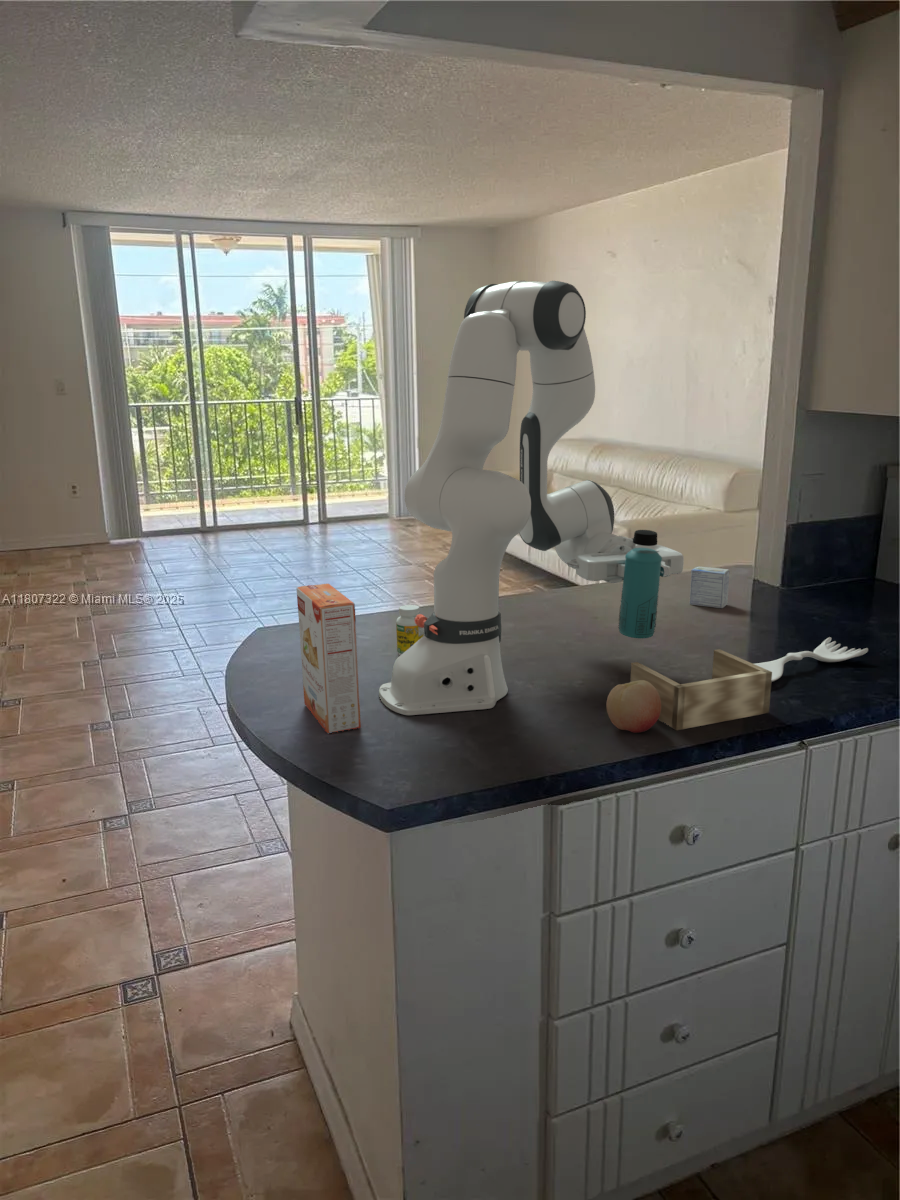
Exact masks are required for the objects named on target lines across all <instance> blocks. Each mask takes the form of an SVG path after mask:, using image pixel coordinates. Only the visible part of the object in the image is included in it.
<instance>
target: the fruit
mask: <svg viewBox="0 0 900 1200" xmlns="http://www.w3.org/2000/svg"><path fill="white" fill-rule="evenodd" d="M605 704H606V713H607V715H608V718H609V719H610V722H611V723H612V724H613V725H614V727H616V728H617V729H619V730H621V731H628V732H631V733H635V734H636V733H643V732H646V731H648V730H650V729H651V728H652V727H654V725H656V724H657V722H658V721H659V720H658V718H659V716H660V712H661V699H660V696H659V694H658V692H657V690H656V689H655V687H654V686H653V685H652V684H650V683H649V682H647V681H644V680H639V681H634V682H631V681H630V682H626V683H622V684H621V683H620V684H617V685H616V686H614V687H613V688H612V689H611V690H610V692H609V693H608V695H607V700H606V703H605Z"/></svg>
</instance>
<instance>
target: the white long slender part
mask: <svg viewBox="0 0 900 1200" xmlns="http://www.w3.org/2000/svg"><path fill="white" fill-rule="evenodd" d="M831 641H832V637H830V636H829V637H827V638H826V639H824V640H823V641H822V642H821V644H819V645H818V646H817V647H816V648H814V649H813V651H809V650H804V651H799V652H788V653H787V654H786V655H785V656H783V657H780V658H778V659H774V660H771V661H764V662H759V663H758V662H757V663H754V664H755V665H757V666H759V667H762V668H764V669H766V670H769V671H771V672H772V680H771V683H772V682H775V681H777V680H779V679H780V678H781V677H782V676H783V673H784V667H785V664H786V663H788V662H789V661H801V660H803V658H808V657H809V658H813V659H815V660H817V661H820V662H824V663H837V662H839V663H840V662H843V661H846V660H849V659H853V658H857V657H861V656H863V655H865V654H866V653H868V652H869V648H868V647H866V648H863V649H861V648H858V649H856V647H854V648H850V649H849V648H848V646H843V647H841V645H842V644H841V643H838V644H836V643H837V641H836V640H834V641H832V642H831ZM840 647H841V648H840Z"/></svg>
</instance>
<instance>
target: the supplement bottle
mask: <svg viewBox="0 0 900 1200" xmlns="http://www.w3.org/2000/svg"><path fill="white" fill-rule="evenodd" d="M398 614H399V616H398V617H397V618H396V621H395V626H396V652H397V655H398V656H400V655H401V654H403V653H404V652H405V651H406V650H408V649H409V648H410V647H411V646H412V645H414V644H415V643H416V642H417V641H418V640H419V639H421V638H422V637H423V636H424V628H421V627H419V626H418V625H416V623H415V621H414V620H416V619H415V618H416V616H417V615H419V614H421V613H420V606H419V605H415V604H406V605H400V606H399V608H398Z"/></svg>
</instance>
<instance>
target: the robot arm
mask: <svg viewBox="0 0 900 1200" xmlns="http://www.w3.org/2000/svg"><path fill="white" fill-rule="evenodd" d="M586 315H587V311H586V305H585V301H584V298H583V297H582V295H581V293H580V292H579V290H578V289H577V288H576V287H575V286H574V285H572V284H571V283H569V282H568V283H567V282H564V281H560V280H550V281H539V280H537V281H535V280H534V281H533V280H531V281H529V280H528V281H527V280H515V281H508V282H503V283H499V284H497V283H490V284H487V285H484V286H482V287H479V288H478V289H476V290H475V291H473V292H472V294H471V295H470V296H469V298H468V300H467V302H466V305H465V308H464V313H463V320H461V323H460V325H459V327H458V330H457V333H456V336H455V339H454V343H453V347H452V351H451V356H450V358H449V359H450V360H449V366H448V372H447V380H446V387H445V393H444V402H443V408H442V415H441V420H440V426H439V428H438V431H437V434H436V438H435V439H434V442H433V445H432V447H431V449H430V451H429V453H428V455H427V458H426V459H425V461H424V462H423V464H422V465H421V466H420V467H419V468H418V469H416V471H414V472H413V474H412V475H411V476H410V477H409V479H408V481H407V482H406V485H405V487H404V504H405V507H406V509H407V511H408V513H409V514H410V515H411V517H413V518H414V519H416V520H418V522H421V523H423V524H425V525H426V526H428V527H430V528H433V529H438V530H441V531H446V532H451V542H450V543H451V544H450V547H449V551H448V554H447V556H446V557H445V558H444V559H442V560H441V561H439V562H438V564H437V565H436V567H435V569H434V571H433V606H434V607H433V609H434V611H433V612H432V613H431V615H430V616H429V617H426V616H425V615H424V614H421V613H419V615H417V616H416V618H415V619H416V620H414V621H415V623H416V625H418V626H419V627H421V628H423V630H424V636H423V637H422V638H421V639H419V640H418V641H417V642H416V643H415V644H414V645H412V646H411V647H410V648H409V649H408V650H406V651H405V652H404V653H403V654H401V655H398V656H397V658H396V659H395V661H394V663H393V667H392V672H391V678H390V679H391V680H390V681H389V682H387V683H383V684H381V685H380V687H379V689H378V697H380V698H379V700H380V699H381V700H380V701H381V702H382V704H383V705H384V706H386V707H387V708H388V709H390V711H393V712H395V713H397V714H401V715H404V716H415V715H417V716H418V715H431V714H439V713H440V714H442V713H452V712H453V713H454V712H465V711H476V710H478V711H479V710H487V709H488V710H489V709H492V708H494V707H495V706H496V704H497V701H499V700H500V699H502V698H504V697H505V696H506V695H507V694H508V692H509V689H508V686H507V682H506V679H505V673H504V670H503V664H502V656H501V645H500V643H501V642H502V614H501V612H500V611H499V597H500V593H499V592H500V591H499V590H500V573H501V572H500V571H501V567H502V563H503V559H504V556H505V553H506V550H507V548H508V546H509V545H510V543H511V541H512V540H513V538H515V537H516V536H517V535H518V534H519V536H520V538H521V540H522V541H523V542H524V543H525V545H527V546H529V547H531V548H533V549H536V550H538V551H543V552H547V551H548V550H551V549H552V548H554V549H555V553H556V554H557V556H558V557H559V558H560V559H561V560H562V561H563V563H564V564H566V566H568V567H569V568H571V569H574V570H575V574H576V575H577V576H578V577H580V578H582V579H584V580H586V581H589V582H598V581H599V582H600V581H604V582H607V583H609V584H617V583H621V582H623V580H624V569H625V559H626V558H625V556H626V554H627V553H628V552H629V551H631V550H632V549H634V548H649V549H653V550H655V551H657V552H658V553H659V555H660V556H661V557H662V561H661V569H660V578H661V577H662V578H666V577H671V575H679V574H682V573H683V569H684V561H685V559H684V554H683V553H682V552H680V551H678V550H675V549H673V548H670V547H667V546H664V545H660V544H657V545H654V546H643V545H637V544H635V543H633V538H634V537H632V538H631V537H627V536H623V535H616V534H614V533H613V531H614V526H615V507H614V503H613V499H612V498H611V496H610V494H609V493H608V492H607V490H605V488H604V487H603V486H601V485H600V484H598V483H597V482H596V481H593V480H589V479H586V480H583V481H580V482H577V483H574V484H571V485H569V486H568V485H567V486H566V487H563V488H561V489H559V490H556V491H551V492H550V493H548V462H549V461H548V460H549V456H550V453H551V450H552V449H553V447H554V446H555V445H556V444H557V442H559V440H560V439H561V438H562V437H564V435H566V434H567V432H569V431H570V430H571V429H572V428H574V427H575V426H576V425H578V424H579V423H580V422H581V421H583V419H584V418H585V417H586V416H587V414H588V413H589V411H591V409H592V407H593V405H594V403H595V402H594V401H595V398H596V379H595V374H594V366H593V365H594V364H593V358H592V353H591V349H590V344H589V340H588V336H587V334H586V329H585V325H586V318H587V317H586ZM519 351H521V352H523V351H525V352H526V351H527V352H529V363H530V364H529V365H530V372H531V373H530V375H531V382H532V397H531V401H530V406H529V409H528V411H527V413H526V414H525V416H524V417H523V418H522V420H521V424H520V432H519V479H517V478H515V477H514V476H511V475H509V474H506V473H503V472H501V471H498V470H490V469H483V468H484V466H485V463H486V460H487V458H488V457H489V455H490V454H491V452H492V450H493V449H494V447H496V446H497V445H498V444H499V443H501V442H502V441H503V440H504V439H505V437H507V434H508V432H509V430H510V424H511V423H510V422H511V415H512V408H513V401H514V393H515V392H514V391H515V385H516V383H515V382H516V377H517V376H516V375H517V362H518V361H517V360H518V358H517V357H518V353H519Z"/></svg>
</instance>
